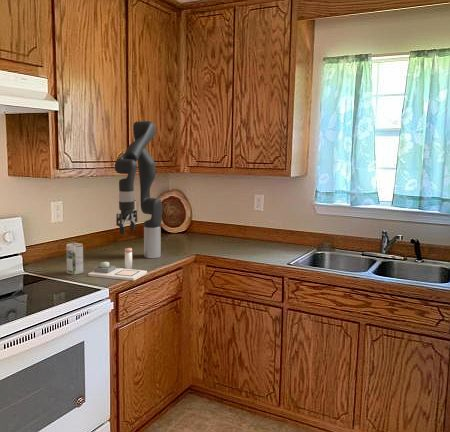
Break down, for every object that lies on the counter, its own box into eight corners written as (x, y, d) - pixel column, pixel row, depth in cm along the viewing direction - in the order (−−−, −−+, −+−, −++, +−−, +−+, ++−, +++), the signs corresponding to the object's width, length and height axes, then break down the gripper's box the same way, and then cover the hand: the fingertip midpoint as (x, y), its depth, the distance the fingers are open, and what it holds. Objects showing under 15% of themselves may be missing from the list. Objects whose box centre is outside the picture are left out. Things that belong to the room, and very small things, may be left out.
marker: (127, 267, 240) (126, 247, 239) (133, 268, 239) (133, 248, 238) (123, 269, 237) (123, 249, 235) (130, 270, 236) (130, 249, 234)
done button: (103, 267, 231) (103, 261, 231) (111, 268, 230) (110, 261, 230) (98, 269, 227) (98, 263, 227) (106, 270, 226) (106, 263, 226)
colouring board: (103, 268, 237) (103, 262, 237) (146, 273, 231) (146, 266, 230) (88, 276, 224) (88, 269, 223) (134, 280, 217) (133, 274, 217)
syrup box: (66, 273, 228) (65, 243, 226) (76, 270, 233) (75, 241, 231) (74, 275, 225) (73, 245, 223) (84, 272, 230) (83, 243, 228)
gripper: (128, 198, 238) (129, 229, 241) (111, 201, 225) (112, 234, 228) (141, 199, 235) (141, 230, 238) (124, 202, 222) (125, 235, 225)
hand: (127, 232), depth 233 cm, fingers open, 8 cm apart
